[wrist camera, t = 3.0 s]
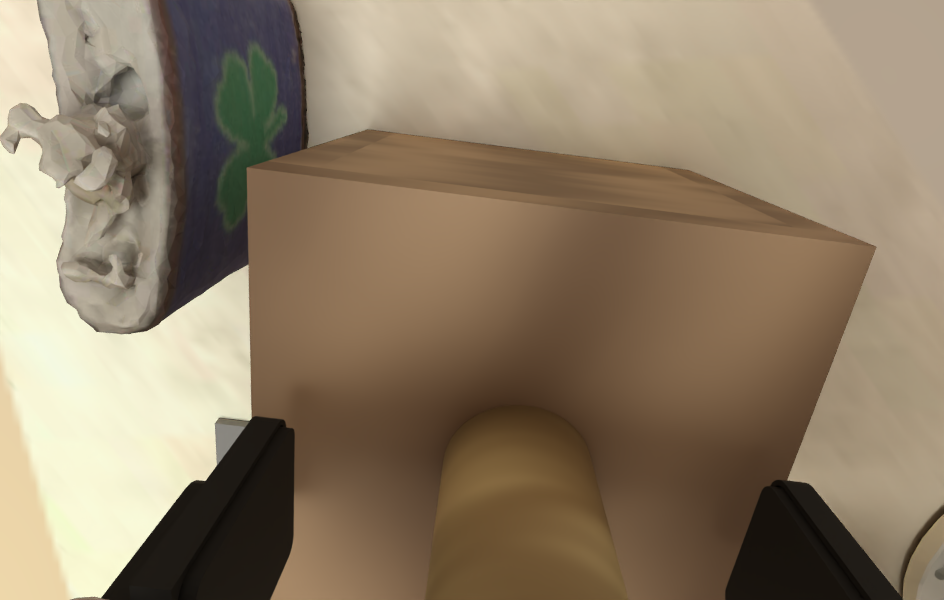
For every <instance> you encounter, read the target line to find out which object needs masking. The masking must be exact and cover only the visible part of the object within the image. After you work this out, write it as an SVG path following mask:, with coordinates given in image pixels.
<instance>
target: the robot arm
mask: <svg viewBox="0 0 944 600" xmlns="http://www.w3.org/2000/svg"><path fill="white" fill-rule="evenodd" d="M294 459H295V432H294V429H293V428H287V427H286V423H285V420H283V419H276V418H268V417H260V416H254V417H253V418H252V419H251V420H250V421H249V423H248V424H247V425H246V427H245V428H244V429H243V431H242V432H241V434H240V435H239V436H238V438H237V439H236V440H235V442H234V443H233V444H232V446H231V447H230V449H229V450H228V451H227V453H226V454H225V455H224V457H223V458H222V459H221V461H220V462H219V464H218V465H217V466H216V468H215V469H214V470H213V472H212V473H211V474H210V476H209V477H208V479H207V480H206V481H199V480H196V481H194V482H191V483H190V484H189V485H188V487H187V488H186V489H185V490H184V491H183V493H182V494H181V495H180V496H179V498H178V499H177V500H176V502H175V503H174V504H173V505H172V507H171V508H170V509H169V511H168V512H167V513H166V515H165V516H164V517H163V518H162V520H161V521H160V522H159V524H158V525H157V526H156V528H155V529H154V530H153V531H152V533H151V534H150V535H149V537H148V538H147V539H146V541H145V542H144V543H143V544H142V546H141V547H140V548H139V550H138V551H137V552H136V554H135V555H134V556H133V557H132V559H131V560H130V561H129V563H128V564H127V565H126V566H125V568H124V569H123V570H122V572H121V573H120V574H119V576H118V577H117V578H116V579H115V581H114V582H113V583H112V585H111V586H110V587H109V589H108V590H107V591H106V592H105V594H104V595H103V596H102V598H98V597H84V598H75V599H71V600H270V599H271V597H272V595H273V592H274V590H275V588H276V586H277V583H278V581H279V579H280V576H281V574H282V572H283V570H284V567H285V565H286V563H287V560H288V558H289V555H290V552H291V549H292V545H293V537H294ZM725 600H944V514H943V515H942V516H941V517H940V518H939V519H938V520H937V521H936V522H935V523H934V525H933V526H932V527H931V528H930V529H929V530H928V532H927V533H926V534H925V535H924V536H923V538H922V539H921V541H920V543H919V545H918V546H917V548H916V550H915V552H914V553H913V555H912V557H911V559H910V562H909V565H908V568H907V571H906V574H905V578H904V585H903V599H902V597H901V596H900V595H899V594H898V592H897V591H896V590H895V589H894V587H893V586H892V585H891V584H890V583H889V581H888V580H887V579H886V578H885V576H884V575H883V574H882V573H881V571H880V570H879V569H878V568H877V566H876V565H875V564H874V563H873V561H872V560H871V559H870V558H869V556H868V555H867V554H866V553H865V552H864V550H863V549H862V548H861V547H860V545H859V544H858V543H857V542H856V540H855V539H854V538H853V537H852V535H851V534H850V533H849V532H848V530H847V529H846V528H845V527H844V525H843V524H842V523H841V522H840V520H839V519H838V518H837V517H836V516H835V514H834V513H833V512H832V511H831V509H830V508H829V507H828V506H827V504H826V503H825V502H824V501H823V499H822V498H821V497H820V496H819V494H818V493H817V492H816V491H815V489H814V488H813V487H812V486H811V485H809V484H807V483H802V482H793V481H785V480H775V481H774V482H772V483H771V485H770V486H766V487H764V488H763V489H762V491H761V494H760V496H759V499H758V502H757V505H756V507H755V510H754V513H753V516H752V518H751V521H750V524H749V526H748V529H747V532H746V535H745V537H744V540H743V543H742V545H741V548H740V551H739V554H738V556H737V559H736V562H735V564H734V567H733V570H732V573H731V575H730V578H729V581H728V584H727V586H726V590H725Z"/></svg>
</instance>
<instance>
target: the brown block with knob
mask: <svg viewBox="0 0 944 600" xmlns="http://www.w3.org/2000/svg"><path fill="white" fill-rule="evenodd" d="M247 209H248V258H249V307H250V356H251V405H252V418H253V417H254V416H260V417H268V418H276V419H283V420H285V423H286V427H287V428H293V429H294V432H295V459H294V537H293V545H292V549H291V552H290V555H289V558H288V560H287V563H286V565H285V567H284V570H283V572H282V574H281V576H280V579H279V581H278V583H277V586H276V588H275V590H274V592H273V595H272V597H271V599H270V600H725V590H726V586H727V584H728V581H729V578H730V575H731V573H732V570H733V567H734V564H735V562H736V559H737V556H738V554H739V551H740V548H741V545H742V543H743V540H744V537H745V535H746V532H747V529H748V526H749V524H750V521H751V518H752V516H753V513H754V510H755V507H756V505H757V502H758V499H759V496H760V494H761V491H762V489H763V488H764V487H766V486H770V485H771V483H772V482H774V481H775V480H785V481H787V479H788V476H789V474H790V471H791V468H792V466H793V463H794V461H795V458H796V455H797V453H798V450H799V448H800V445H801V442H802V440H803V437H804V435H805V432H806V429H807V427H808V424H809V422H810V419H811V416H812V414H813V411H814V409H815V406H816V403H817V401H818V398H819V396H820V393H821V390H822V388H823V385H824V382H825V380H826V377H827V375H828V372H829V369H830V367H831V364H832V362H833V359H834V356H835V354H836V351H837V349H838V346H839V343H840V341H841V338H842V336H843V333H844V330H845V328H846V325H847V323H848V320H849V317H850V315H851V312H852V310H853V307H854V304H855V302H856V299H857V297H858V294H859V291H860V289H861V286H862V283H863V281H864V278H865V276H866V273H867V270H868V268H869V265H870V263H871V260H872V257H873V255H874V252H875V250H876V247H875V246H873V245H870V244H868V243H866V242H863V241H861V240H858V239H856V238H853V237H851V236H848V235H846V234H844V233H841V232H839V231H836V230H834V229H831V228H829V227H826V226H824V225H821V224H819V223H817V222H814V221H812V220H809V219H807V218H804V217H802V216H799V215H797V214H795V213H792V212H790V211H787V210H785V209H782V208H780V207H777V206H775V205H773V204H770V203H768V202H765V201H763V200H760V199H758V198H755V197H753V196H750V195H748V194H746V193H743V192H741V191H738V190H736V189H733V188H731V187H728V186H726V185H724V184H721V183H719V182H716V181H714V180H711V179H709V178H706V177H704V176H702V175H699V174H697V173H694V172H692V171H689V170H683V169H675V168H667V167H659V166H651V165H643V164H635V163H628V162H620V161H612V160H604V159H596V158H588V157H580V156H572V155H565V154H557V153H549V152H541V151H533V150H525V149H517V148H509V147H502V146H494V145H486V144H478V143H470V142H462V141H454V140H446V139H439V138H431V137H423V136H415V135H407V134H399V133H391V132H383V131H376V130H364V131H361V132H358V133H355V134H352V135H349V136H345V137H342V138H339V139H336V140H333V141H329V142H326V143H323V144H320V145H317V146H314V147H310V148H307V149H304V150H301V151H298V152H295V153H291V154H288V155H285V156H282V157H279V158H275V159H272V160H269V161H266V162H263V163H260V164H256V165H253V166H250V167H247Z"/></svg>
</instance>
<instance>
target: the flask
mask: <svg viewBox="0 0 944 600" xmlns="http://www.w3.org/2000/svg"><path fill="white" fill-rule="evenodd" d="M37 4H38V10H39V16H40V21H41V24H42V27H43V29H44V32H45V35H46V38H47V40H48V49H49V54H50V59H51V63H52V68H53V72H52V77H53V80H54V82H55V85H56V96H57V101H58V106H59V115H56V116H55V117H53V118H52V119H51V120H49V119H46V118H44V117H41V115H40V114H39V113H38V112H37V111H36V109H35V108H33V107H32V106H30V105H28V104H25V103H20V104H18V105H16V106H14V107H13V108H11V109H10V110H9V115H8V127H7V128H6V129H5V131H4V132H3V133H2V134H1V136H0V141H1V143H2V145H3V147H4V148H5V149H6V150H7V151H8V152H9V153H12V154H14V153H15V151H16V149H17V146H18V144H19V141H20V138H32V139H33V140H34V141H36V142H37V143H38V144H39V145H40V146H41V148H42V156H41V160H40V163H39V171H42V172H43V173H45V174H47V175H49V176H50V177H52V178H53V179H54V180H55V181H56V188H60V187H62V186H64V185H65V187H66V190H65V197H64V200H65V203H66V221H65V225H64V229H63V233H62V240H63V243H62V245H61V248H60V251H59V254H58V257H57V260H56V262H57V270H58V273H59V281H60V288H61V291H62V293H63V295H64V297H65V299H66V302H67V303H68V304H70V305H71V306H72V307H74V308H75V309H77V311H78V314H79V316H80V318H81V319H82V320H84V321H85V322H86V323H87V324H89V325H90V326H91V327H93V328H94V330H95V331H96V332H106V333H118V334H131V333H137V332H144V331H148V330H149V329H151V328H153V327H155V326H157V325H159V323H160V322H161V321H162V320H164V319H165V318H167V317H168V316H169V315H171V314H172V313H173V312H175V311H176V310H178V309H179V308H181V307H182V306H184V305H185V304H187V303H188V302H190V301H191V300H193V299H194V298H196V297H197V296H199V295H201V294H203V293H204V292H205V291H206V290H208V289H209V288H211V287H212V286H214V285H215V284H217V283H218V282H220V281H221V280H222V279H224V278H225V277H226V276H228V275H230V274H231V273H233V272H235V271H237V270H239V269H241V268H242V267H244V266H246V265H248V264H249V258H248V209H247V167H250V166H253V165H256V164H260V163H263V162H266V161H269V160H272V159H275V158H279V157H282V156H285V155H288V154H291V153H295V152H298V151H301V150H304V149H307V142H308V131H307V128H306V125H307V124H306V117H305V116H306V111H307V109H306V99H305V96H306V94H305V91H306V90H305V85H306V84H305V81H306V80H305V79H304V75H303V74H304V71H303V70H304V67H303V66H305V64H304V62H303V59H304V56H303V52H302V48H301V47H302V45H301V44H302V38H301V31H300V30H299V23H298V21H297V18H296V12H295V10H294V8H293V4H291V2H290V0H37Z"/></svg>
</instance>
